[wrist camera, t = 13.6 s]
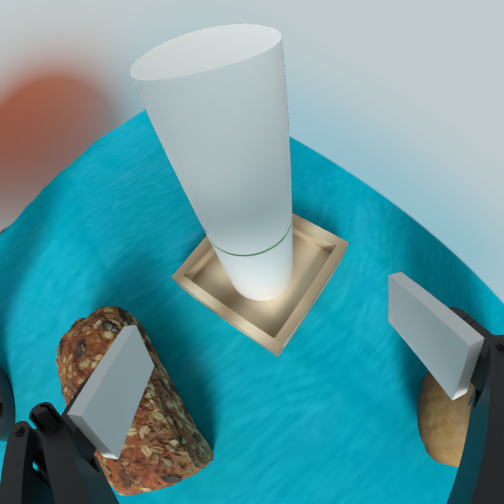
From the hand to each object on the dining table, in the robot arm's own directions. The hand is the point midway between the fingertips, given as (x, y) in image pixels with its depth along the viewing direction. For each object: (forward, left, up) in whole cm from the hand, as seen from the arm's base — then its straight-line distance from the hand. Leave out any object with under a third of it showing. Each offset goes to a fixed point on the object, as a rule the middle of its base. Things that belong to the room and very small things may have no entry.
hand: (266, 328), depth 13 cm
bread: (-9, -14, -17) cm, 24 cm away
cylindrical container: (-7, +7, -16) cm, 19 cm away
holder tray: (-7, +7, -17) cm, 20 cm away
